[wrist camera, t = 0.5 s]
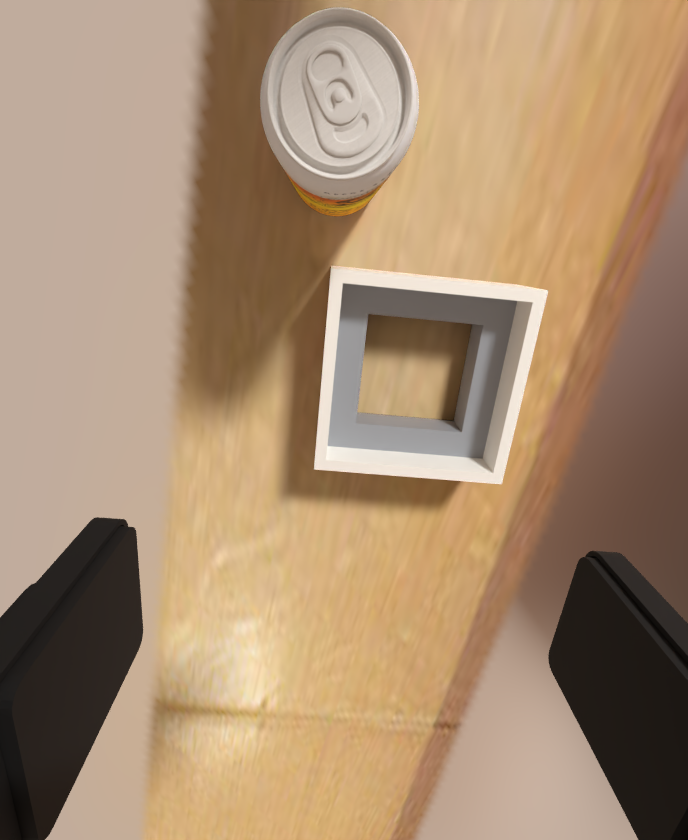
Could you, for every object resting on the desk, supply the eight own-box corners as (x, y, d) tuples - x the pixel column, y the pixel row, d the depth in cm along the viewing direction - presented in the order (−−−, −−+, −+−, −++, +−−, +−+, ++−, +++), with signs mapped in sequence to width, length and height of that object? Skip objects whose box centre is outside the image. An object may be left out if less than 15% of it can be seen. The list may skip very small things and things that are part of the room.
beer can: (315, 232, 32) (302, 219, 18) (274, 141, 30) (223, 46, 16) (396, 191, 31) (448, 145, 17) (359, 95, 29) (384, -45, 15)
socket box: (331, 265, 33) (330, 267, 28) (518, 284, 34) (548, 290, 29) (316, 441, 38) (313, 469, 33) (480, 455, 38) (501, 484, 34)
